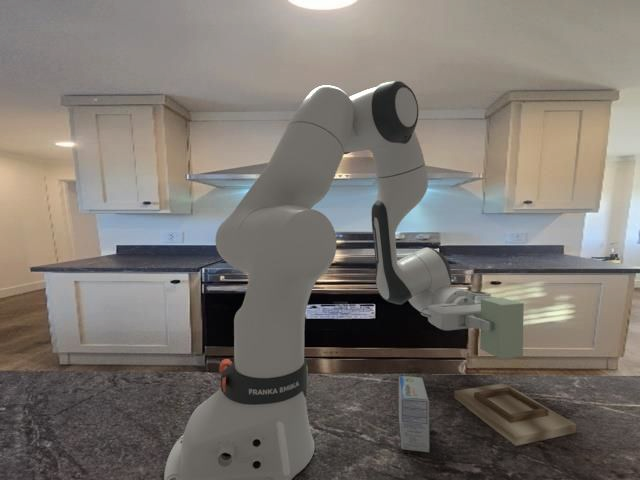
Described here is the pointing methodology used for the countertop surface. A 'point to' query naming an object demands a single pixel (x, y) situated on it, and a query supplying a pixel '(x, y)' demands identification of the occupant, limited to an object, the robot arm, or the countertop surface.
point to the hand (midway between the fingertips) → (505, 325)
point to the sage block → (502, 327)
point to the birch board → (514, 414)
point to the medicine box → (413, 414)
